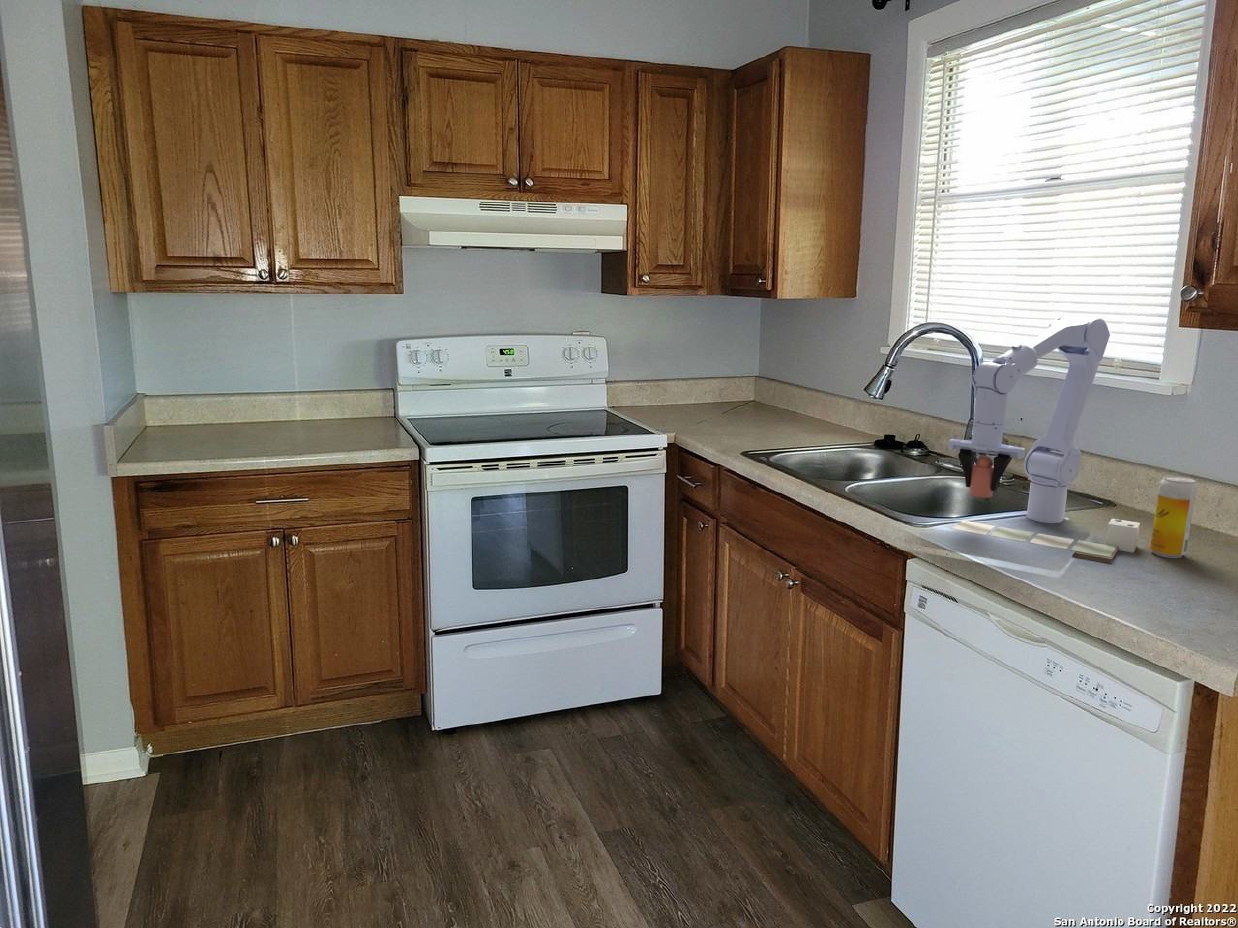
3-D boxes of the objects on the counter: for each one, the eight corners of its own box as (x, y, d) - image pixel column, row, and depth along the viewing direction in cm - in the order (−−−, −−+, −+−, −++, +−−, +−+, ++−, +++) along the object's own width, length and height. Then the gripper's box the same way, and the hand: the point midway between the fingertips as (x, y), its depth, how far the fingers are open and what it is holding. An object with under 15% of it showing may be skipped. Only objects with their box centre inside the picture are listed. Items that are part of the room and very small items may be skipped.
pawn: (972, 491, 194) (976, 452, 192) (994, 494, 191) (999, 455, 190) (966, 495, 190) (970, 455, 189) (989, 498, 188) (993, 458, 186)
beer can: (1152, 547, 185) (1164, 474, 182) (1187, 554, 182) (1200, 479, 178) (1146, 554, 181) (1158, 478, 178) (1182, 561, 177) (1194, 484, 174)
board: (961, 523, 199) (961, 519, 199) (1118, 550, 182) (1119, 546, 182) (947, 533, 191) (948, 529, 191) (1110, 563, 174) (1111, 558, 174)
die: (1108, 542, 189) (1112, 518, 187) (1136, 547, 186) (1140, 522, 185) (1104, 547, 185) (1108, 523, 183) (1133, 552, 182) (1137, 527, 181)
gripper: (946, 420, 188) (939, 486, 191) (1022, 429, 180) (1014, 497, 183) (956, 416, 194) (949, 480, 197) (1030, 425, 186) (1022, 491, 189)
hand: (981, 488), depth 191 cm, fingers closed on pawn, 4 cm apart
